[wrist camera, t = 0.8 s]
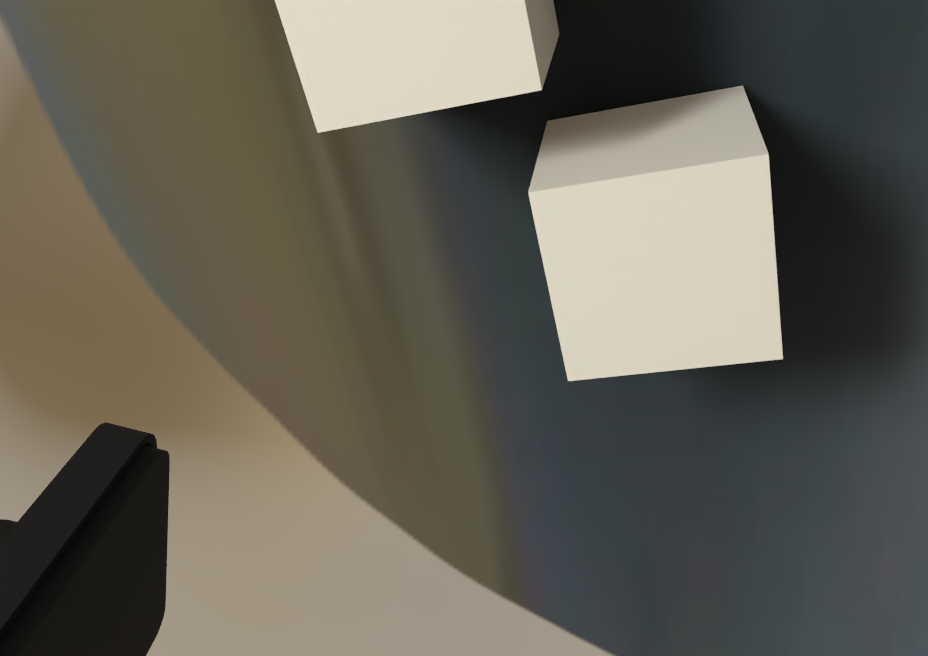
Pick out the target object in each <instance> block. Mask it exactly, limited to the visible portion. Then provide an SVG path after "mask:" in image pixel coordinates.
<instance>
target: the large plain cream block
mask: <svg viewBox="0 0 928 656" xmlns="http://www.w3.org/2000/svg"><path fill="white" fill-rule="evenodd" d="M275 2H276V5H277V8H278V11H279V15H280V18H281V21H282V24H283V27H284V30H285V33H286V36H287V39H288V42H289V45H290V49H291V52H292V55H293V58H294V61H295V64H296V67H297V70H298V73H299V76H300V79H301V83H302V86H303V89H304V92H305V95H306V98H307V101H308V104H309V107H310V110H311V114H312V117H313V120H314V123H315V126H316V129H317V132H318V133H319V132H325V131H330V130H335V129H340V128H346V127H351V126H356V125H361V124H367V123H372V122H377V121H382V120H388V119H393V118H398V117H404V116H409V115H414V114H419V113H425V112H430V111H435V110H440V109H446V108H451V107H456V106H461V105H467V104H472V103H477V102H482V101H488V100H493V99H498V98H503V97H509V96H514V95H519V94H524V93H530V92H535V91H540V90H542V88H543V85H544V82H545V79H546V75H547V72H548V69H549V66H550V63H551V59H552V56H553V53H554V50H555V47H556V43H557V40H558V37H559V29H558V24H557V18H556V12H555V7H554V1H553V0H275Z"/></svg>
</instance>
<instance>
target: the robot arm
mask: <svg viewBox="0 0 928 656" xmlns="http://www.w3.org/2000/svg"><path fill="white" fill-rule="evenodd" d="M168 492H169V454H168V451H165V450H161V449H157V442H156V438H155V436H154V435H153V434H150V433H146V432H142V431H138V430H134V429H130V428H126V427H122V426H118V425H114V424H110V423H103V424H100V425H99V426H98V427H97V428H96V429H95V430H94V431H93V432H92V434H91V435H90V436H89V437H88V438H87V440H86V441H85V442H84V443H83V444H82V446H81V447H80V448H79V449H78V450H77V451H76V453H75V454H74V455H73V456H72V457H71V459H70V460H69V461H68V462H67V463H66V465H65V466H64V467H63V468H62V469H61V471H60V472H59V473H58V474H57V476H56V477H55V478H54V479H53V480H52V481H51V483H50V484H49V485H48V486H47V487H46V489H45V490H44V491H43V492H42V493H41V495H40V496H39V497H38V498H37V499H36V501H35V502H34V503H33V504H32V505H31V507H30V508H29V509H28V510H27V511H26V513H25V514H24V515H23V516H22V517H21V519H20V520H19V521H18V522H15V521H11V520H0V656H146V654H147V652H148V651H149V649H150V647H151V645H152V643H153V641H154V640H155V638H156V635H157V633H158V631H159V628H160V626H161V623H162V620H163V616H164V612H165V601H166V566H167V563H166V562H167V529H168V496H169V493H168Z"/></svg>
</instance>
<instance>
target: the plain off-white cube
mask: <svg viewBox="0 0 928 656" xmlns="http://www.w3.org/2000/svg"><path fill="white" fill-rule="evenodd" d="M528 194H529V199H530V203H531V208H532V213H533V218H534V222H535V227H536V232H537V237H538V241H539V246H540V251H541V255H542V260H543V265H544V270H545V274H546V279H547V284H548V288H549V293H550V298H551V303H552V307H553V312H554V317H555V322H556V326H557V331H558V336H559V340H560V345H561V350H562V355H563V359H564V364H565V369H566V373H567V378H568V381H574V380H584V379H594V378H604V377H613V376H623V375H633V374H643V373H652V372H662V371H672V370H682V369H691V368H701V367H711V366H721V365H730V364H740V363H750V362H760V361H769V360H779V359H783V352H782V337H781V323H780V309H779V294H778V280H777V266H776V252H775V237H774V223H773V209H772V194H771V180H770V166H769V154H768V151H767V148H766V146H765V143H764V140H763V138H762V135H761V132H760V130H759V127H758V124H757V122H756V119H755V116H754V114H753V111H752V108H751V106H750V103H749V101H748V98H747V95H746V93H745V90H744V87H743V86H737V87H732V88H726V89H721V90H715V91H710V92H704V93H699V94H693V95H688V96H682V97H677V98H671V99H665V100H660V101H654V102H649V103H643V104H638V105H632V106H627V107H621V108H616V109H610V110H605V111H599V112H594V113H588V114H583V115H577V116H571V117H566V118H560V119H555V120H549V121H547V124H546V128H545V131H544V135H543V139H542V143H541V146H540V150H539V154H538V158H537V161H536V165H535V169H534V173H533V176H532V180H531V184H530V188H529V191H528Z"/></svg>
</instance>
